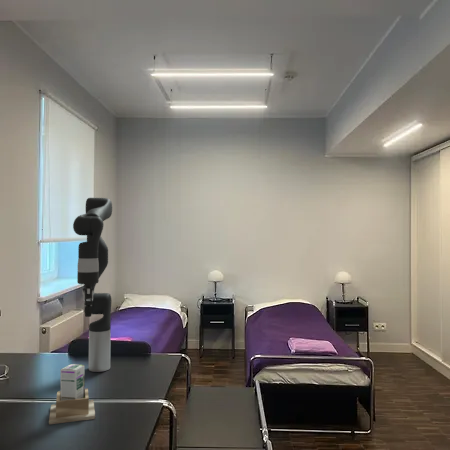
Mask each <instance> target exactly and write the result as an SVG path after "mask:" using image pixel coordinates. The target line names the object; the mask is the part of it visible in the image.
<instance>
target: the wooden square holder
mask: <svg viewBox="0 0 450 450" xmlns="http://www.w3.org/2000/svg"><path fill="white" fill-rule="evenodd" d="M89 399H90V397H89V388H88V387H87V388H86V387H85V398H80V399H71V400H62V401H61V390H59V391H57V393H56V400H55V404H51V405H50V411H49V418H48V425H54V424H55V425H56V424H62V423H63V424H65V423H71V422H80V421H89V420H95V419H96V411H95V401H94V399H91V400H89Z"/></svg>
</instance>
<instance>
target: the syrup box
mask: <svg viewBox="0 0 450 450" xmlns="http://www.w3.org/2000/svg"><path fill="white" fill-rule="evenodd" d="M85 383H86V382H85V365H84V364H81V363H80V364H79V363H72V364H71V363H70V364H69V365H66V366H65V367H63V368H61V369H60V391H61V401H62V400H71V399H80V398H85V389H86V387H85V386H86V385H85Z"/></svg>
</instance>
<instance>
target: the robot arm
mask: <svg viewBox="0 0 450 450" xmlns="http://www.w3.org/2000/svg"><path fill="white" fill-rule="evenodd" d="M112 212H113V203H112V200H111V199H110V198H107V197H88V198H87V199H86V201H85V213H84V214H80V215H78V216H77V217H75V219H74V221H73V223H72V224H73V225H72V229H73V231H74V233H75V234H77V235H78V236H86V241H81V242H79V244H78V254H77V255H78V257H77V259H78V260H77V276H76V277H77V280H76V281H77V284H78V285H83V287H82V291H81V292H82V299H83V302H84V303H83V304H84V307H83V308H84V309H83V310H84V317H85V318H89V317H92V315H102V317H101V318H99V319H97V320H95V321H91V322H90V323H89V325H88V371H89V372H93V373H94V372H95V373H97V372H98V373H101V372H105V371H108V370H110V369H111V341H112V340H111V339H112V337H111V335H112V334H111V325H112V324H111V323H112V318H111V316H112V296H111V293H108V292H95V287H96V285H97V284H99V281H100V280H99V279H100V278H101V276H102V275H103V273H104V272H105V270H106V268H107V267H108V264H109V249H108V248H109V247H108V246H107V244H106V242H105V241H104V239H103V238H102V233H103V230H104V222H105V221H106V220H108V219H110V218H111V216H112V214H113V213H112Z"/></svg>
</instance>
